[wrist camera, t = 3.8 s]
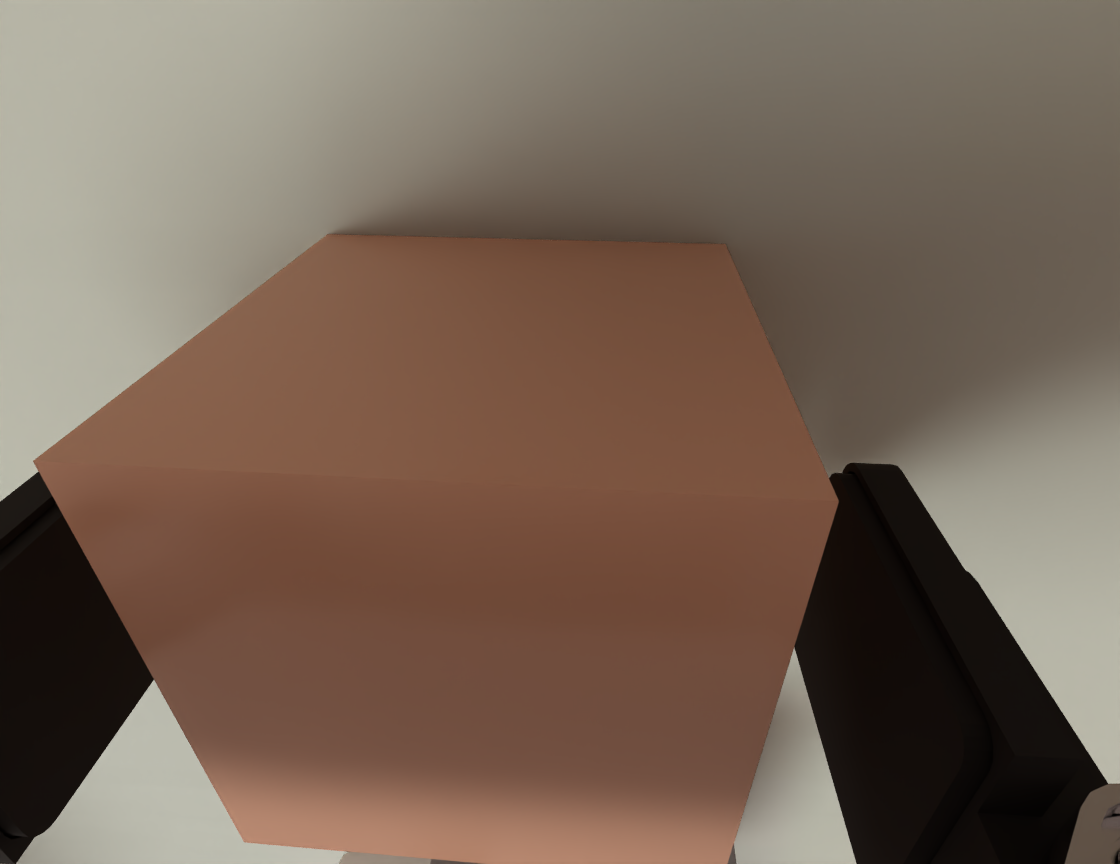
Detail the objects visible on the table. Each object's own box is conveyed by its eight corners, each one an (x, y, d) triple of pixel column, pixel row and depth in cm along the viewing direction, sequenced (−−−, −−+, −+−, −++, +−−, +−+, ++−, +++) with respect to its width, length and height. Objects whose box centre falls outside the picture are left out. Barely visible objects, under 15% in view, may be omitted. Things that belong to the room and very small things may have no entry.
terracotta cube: (725, 242, 10) (837, 501, 5) (682, 543, 13) (720, 884, 8) (329, 232, 10) (33, 462, 5) (386, 526, 13) (244, 841, 8)
